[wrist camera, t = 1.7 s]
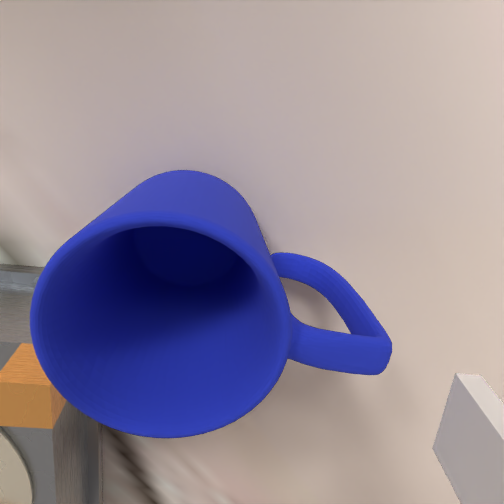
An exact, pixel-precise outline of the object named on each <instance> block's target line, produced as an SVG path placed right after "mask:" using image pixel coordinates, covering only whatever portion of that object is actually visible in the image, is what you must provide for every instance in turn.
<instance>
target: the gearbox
mask: <svg viewBox="0 0 504 504" xmlns="http://www.w3.org/2000/svg"><path fill="white" fill-rule="evenodd" d="M43 270H44V268H43V267H31V266H19V265H6V264H0V504H103V501H102V423H99V422H97V421H96V420H94V419H92V418H90V417H89V416H87V415H85V414H84V413H82V412H81V411H80V410H78V409H77V408H76V407H74V406H73V405H72V404H71V403H70V402H68V401H67V400H66V399H65V398H64V397H63V396H62V395H61V394H60V393H59V392H58V390H57V389H56V388H55V387H54V386H53V384H52V383H51V382H50V380H49V379H48V377H47V376H46V374H45V372H44V371H43V369H42V367H41V365H40V363H39V361H38V358H37V356H36V353H35V350H34V347H33V343H32V338H31V332H30V309H31V301H32V297H33V293H34V289H35V287H36V284H37V282H38V279H39V277H40V274H41V273H42V271H43Z"/></svg>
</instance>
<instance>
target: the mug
mask: <svg viewBox="0 0 504 504" xmlns="http://www.w3.org/2000/svg"><path fill="white" fill-rule="evenodd" d="M279 277H284V278H289V279H293V280H296V281H299V282H302V283H304V284H307V285H309V286H311V287H312V288H314V289H316V290H317V291H318V292H320V293H321V294H322V295H323V296H324V297H326V298H327V300H328V301H329V302H330V303H331V304H332V305H333V306H334V308H335V309H336V310H337V312H338V313H339V315H340V316H341V318H342V319H343V320H344V322H345V324H346V326H347V327H348V329H349V331H350V332H351V334H347V333H341V332H335V331H329V330H323V329H318V328H315V327H311V326H308V325H305V324H304V323H302V322H300V321H299V320H297V319H296V318H295V317H294V316H293V315H292V314H291V312H290V307H289V303H288V300H287V297H286V293H285V291H284V288H283V286H282V283H281V281H280V278H279ZM30 332H31V338H32V343H33V347H34V350H35V353H36V356H37V358H38V361H39V363H40V365H41V367H42V369H43V371H44V372H45V374H46V376H47V377H48V379H49V380H50V382H51V383H52V384H53V386H54V387H55V388H56V389H57V390H58V392H59V393H60V394H61V395H62V396H63V397H64V398H65V399H66V400H67V401H68V402H70V403H71V404H72V405H73V406H74V407H76V408H77V409H78V410H80V411H81V412H82V413H84V414H85V415H87V416H89V417H90V418H92V419H94V420H96V421H97V422H99V423H102V424H104V425H106V426H108V427H110V428H113V429H116V430H119V431H122V432H125V433H129V434H133V435H138V436H144V437H153V438H181V437H189V436H195V435H199V434H204V433H207V432H210V431H213V430H216V429H219V428H222V427H224V426H226V425H228V424H230V423H232V422H234V421H236V420H238V419H239V418H241V417H242V416H244V415H245V414H247V413H248V412H250V411H251V410H252V409H253V408H254V407H256V406H257V405H258V404H259V403H260V402H261V401H262V400H263V399H264V398H265V397H266V396H267V394H268V393H269V392H270V391H271V390H272V388H273V387H274V385H275V384H276V382H277V381H278V379H279V377H280V375H281V373H282V371H283V369H284V366H285V364H286V361H287V359H292V360H294V361H297V362H300V363H303V364H306V365H309V366H313V367H317V368H321V369H326V370H332V371H338V372H345V373H351V374H362V375H378V374H380V373H382V372H383V371H384V369H385V368H386V366H387V364H388V362H389V360H390V356H391V353H392V342H391V340H390V338H389V336H388V335H387V333H386V331H385V330H384V328H383V327H382V326H381V324H380V323H379V321H378V320H377V319H376V317H375V316H374V314H373V313H372V311H371V310H370V309H369V307H368V306H367V305H366V303H365V302H364V300H363V299H362V298H361V297H360V296H359V295H358V293H357V292H356V291H355V290H354V289H353V288H352V286H351V285H350V284H349V283H348V282H347V281H346V280H345V279H344V278H343V277H342V276H341V275H340V274H338V273H337V272H336V271H335V270H333V269H332V268H331V267H329V266H327V265H326V264H324V263H322V262H320V261H317V260H315V259H312V258H309V257H306V256H302V255H298V254H293V253H274V254H272V255H270V254H269V251H268V249H267V246H266V244H265V241H264V239H263V236H262V234H261V231H260V229H259V226H258V224H257V221H256V219H255V216H254V214H253V212H252V210H251V208H250V207H249V205H248V204H247V202H246V201H245V200H244V198H243V197H242V196H241V195H240V194H239V193H238V192H237V191H236V190H235V189H234V188H233V187H231V186H230V185H229V184H227V183H226V182H224V181H223V180H221V179H219V178H217V177H215V176H212V175H209V174H206V173H202V172H198V171H190V170H177V171H170V172H165V173H162V174H159V175H156V176H154V177H151V178H149V179H147V180H146V181H144V182H142V183H141V184H139V185H138V186H137V187H135V188H134V189H133V190H131V191H130V192H129V193H128V194H126V195H125V196H124V197H123V198H121V199H120V200H119V201H117V202H116V203H115V204H114V205H112V206H111V207H110V208H109V209H107V210H106V211H105V212H103V213H102V214H101V215H100V216H98V217H97V218H96V219H95V220H93V221H92V222H91V223H89V224H88V225H87V226H86V227H84V228H83V229H82V230H81V231H79V232H78V233H77V234H75V235H74V236H73V237H72V238H70V239H69V240H68V241H67V242H66V243H65V244H63V245H62V246H61V247H60V248H59V249H58V250H57V251H56V252H55V254H54V255H53V256H52V258H51V259H50V260H49V262H48V263H47V265H46V266H45V268H44V270H43V271H42V273H41V274H40V277H39V279H38V282H37V284H36V287H35V289H34V293H33V297H32V301H31V309H30Z"/></svg>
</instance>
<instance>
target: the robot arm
mask: <svg viewBox="0 0 504 504" xmlns="http://www.w3.org/2000/svg"><path fill="white" fill-rule="evenodd" d="M433 450H434V452H435V454H436V456H437V458H438V460H439V462H440V464H441V466H442V468H443V470H444V472H445V473H446V475H447V477H448V479H449V481H450V483H451V485H452V487H453V489H454V491H455V493H456V495H457V497H458V499H459V501H460V502H461V504H504V403H503V402H502V401H501V400H500V398H499V397H498V396H497V395H496V393H495V392H494V391H493V389H492V388H491V387H490V386H489V384H488V383H487V382H486V381H485V379H484V378H483V377H482V376H481V375H473V374H459V373H455V376H454V379H453V383H452V386H451V389H450V393H449V396H448V399H447V402H446V406H445V409H444V412H443V416H442V419H441V422H440V425H439V429H438V432H437V435H436V439H435V442H434V445H433Z"/></svg>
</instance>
